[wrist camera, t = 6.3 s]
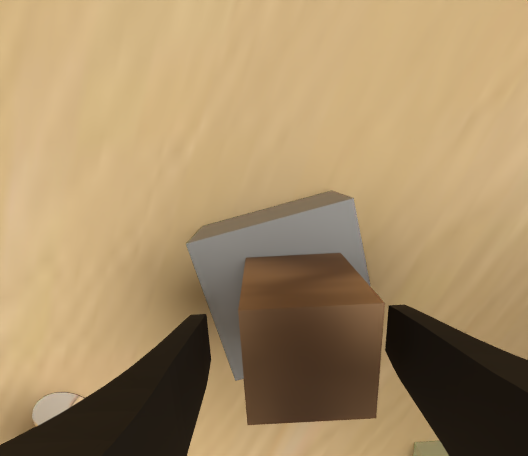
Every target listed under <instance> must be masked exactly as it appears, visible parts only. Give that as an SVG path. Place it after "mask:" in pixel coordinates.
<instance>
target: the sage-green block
mask: <svg viewBox="0 0 528 456" xmlns="http://www.w3.org/2000/svg"><path fill="white" fill-rule="evenodd" d="M413 456H449V455H448V453H447V452H446V450H445V448H444V447H443V445H442V443H441V442H440V441H429V442H415V444H414V453H413Z"/></svg>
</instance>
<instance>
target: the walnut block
mask: <svg viewBox="0 0 528 456" xmlns="http://www.w3.org/2000/svg"><path fill="white" fill-rule="evenodd" d="M384 307H385V303H384V302H383V300H382V299H381V298H380V297H379V296H378V295H377V294H376V293H375V291H374V290H373V289H372V288H371V287H370V286H369V285H368V283H367V282H366V281H365V280H364V279H363V278H362V277H361V275H360V274H359V273H358V272H357V271H356V270H355V269H354V267H353V266H352V265H351V264H350V263H349V262H348V261H347V259H346V258H345V257H344V256H343V255H342V254H341V253H327V254H308V255H288V256H269V257H249V258H246V260H245V267H244V273H243V280H242V287H241V294H240V301H239V308H238V316H239V328H240V340H241V352H242V364H243V376H244V388H245V400H246V412H247V424H248V425H257V424H276V423H295V422H314V421H333V420H351V419H370V418H376V413H377V400H378V386H379V373H380V360H381V347H382V333H383V320H384Z"/></svg>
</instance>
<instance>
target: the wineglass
mask: <svg viewBox="0 0 528 456" xmlns="http://www.w3.org/2000/svg"><path fill="white" fill-rule="evenodd" d="M83 399H85V398H83V397H81V396H79V395H76V394H71V393H66V392H64V393H53V394H50V395H47V396H44V397H43V398H42V399H40V400H39V401H38V402H37V403H36V405H35V407H34V408H33V414H32V419H33V422H34V425H35V427H36V426H38V425H40V424H42V423H44V422H45V421H47V420H49V419H51V418H53V417H54V416H56V415H58V414H60V413H62V412H63V411H65V410H67V409H68V408H70V407H71V406H73V405H75V404H76V403H78V402H80V401H81V400H83Z"/></svg>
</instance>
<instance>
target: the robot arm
mask: <svg viewBox="0 0 528 456" xmlns="http://www.w3.org/2000/svg"><path fill="white" fill-rule="evenodd" d="M385 351H386V353H387V355H388V357H389V359H390V361H391V364H392V366H393V368H394V369H395V371H396V373H397V375H398V377H399V379H400V380H401V382H402V383H403V385H404V386H405V388H406V390H407V391H408V393H409V394H410V396H411V397H412V399H413V400H414V402H415V403H416V405H417V406H418V408H419V410H420V411H421V413H422V414H423V416H424V417H425V419H426V420H427V422H428V423H429V425H430V426H431V428H432V429H433V431H434V432H435V434H436V435H437V437H438V438H439V440H440V442H441V443H442V445H443V447H444V448H445V450H446V452H447V453H448V455H449V456H528V360H526V359H523V358H520V357H518V356H515V355H513V354H510V353H508V352H506V351H503V350H501V349H499V348H496V347H494V346H492V345H489V344H487V343H485V342H483V341H480V340H478V339H476V338H474V337H472V336H470V335H467V334H465V333H463V332H461V331H459V330H457V329H455V328H453V327H451V326H449V325H447V324H445V323H443V322H441V321H439V320H437V319H434V318H432V317H430V316H428V315H426V314H424V313H422V312H420V311H418V310H416V309H414V308H411V307H409V306H406V305H390V306H389V310H388V322H387V335H386V348H385ZM210 362H211V354H210V344H209V335H208V326H207V316H206V314H200V315H190V316H189V317H188V318H187V319H186V320H184V321H183V322H182V323H181V324H180V325H179V326H178V327H177V328H176V329H175V330H174V331H173V332H172V333H170V334H169V335H168V336H167V337H166V338H165V339H164V340H163V341H162V342H160V343H159V344H158V345H157V346H156V347H155V348H154V349H152V350H151V351H150V352H149V353H147V354H146V355H145V356H144V357H143V358H141V359H140V360H139V361H138V362H136V363H135V364H134V365H133V366H131V367H130V368H129V369H128V370H126V371H125V372H123V373H122V374H121V375H119V376H118V377H116V378H115V379H114V380H112V381H111V382H109V383H108V384H106V385H105V386H104V387H102V388H101V389H99V390H97V391H96V392H94V393H93V394H91V395H89V396H88V397H86V398H85V399H83V400H81V401H80V402H78V403H76V404H75V405H73V406H71V407H70V408H68V409H67V410H65V411H63V412H62V413H60V414H58V415H56V416H54V417H53V418H51V419H49V420H47V421H45V422H44V423H42V424H40V425H38V426H36V427H34V428H32V429H31V430H29V431H27V432H25V433H23V434H21V435H19V436H17V437H15V438H13V439H11V440H9V441H7V442H5V443H3V444H1V445H0V456H187V453H188V449H189V446H190V442H191V439H192V435H193V432H194V428H195V425H196V421H197V418H198V414H199V411H200V407H201V404H202V400H203V397H204V393H205V390H206V386H207V381H208V375H209V369H210Z"/></svg>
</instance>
